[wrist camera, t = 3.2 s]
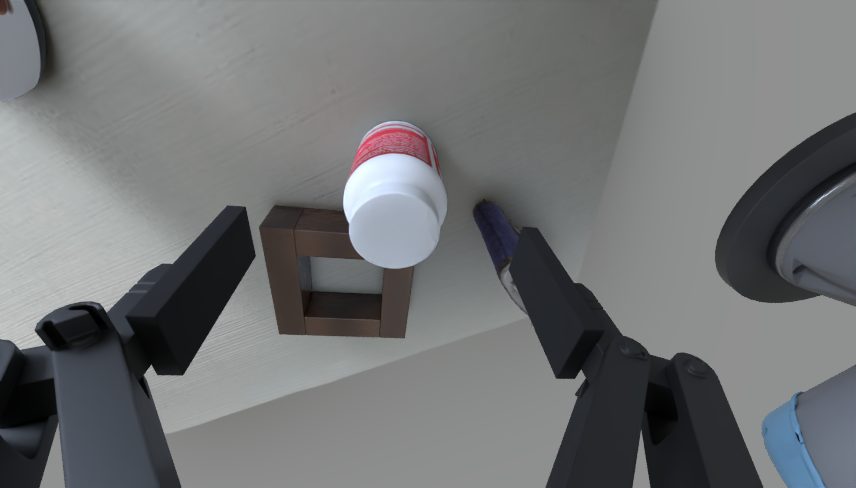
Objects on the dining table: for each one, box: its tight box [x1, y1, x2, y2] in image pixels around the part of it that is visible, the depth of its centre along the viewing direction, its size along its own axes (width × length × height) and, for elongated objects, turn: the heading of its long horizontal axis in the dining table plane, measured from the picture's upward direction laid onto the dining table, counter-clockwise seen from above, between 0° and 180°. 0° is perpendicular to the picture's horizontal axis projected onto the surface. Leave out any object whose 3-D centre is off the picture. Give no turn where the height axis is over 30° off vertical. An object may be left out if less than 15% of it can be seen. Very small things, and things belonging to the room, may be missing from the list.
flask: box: [473, 199, 534, 329], centre depth 26 cm, size 9×3×11 cm, turn 41°
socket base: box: [259, 206, 414, 338], centre depth 30 cm, size 12×12×4 cm
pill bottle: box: [343, 121, 447, 269], centre depth 21 cm, size 6×6×11 cm
